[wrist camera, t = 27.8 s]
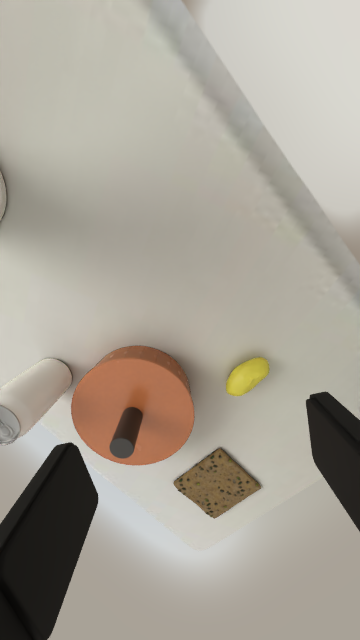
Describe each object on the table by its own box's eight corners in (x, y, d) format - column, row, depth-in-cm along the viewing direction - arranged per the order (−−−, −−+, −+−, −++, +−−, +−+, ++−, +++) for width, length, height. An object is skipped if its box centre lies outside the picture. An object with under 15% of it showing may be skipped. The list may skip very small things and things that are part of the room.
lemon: (270, 366, 36) (281, 378, 33) (231, 393, 38) (236, 407, 34) (256, 347, 36) (265, 357, 32) (216, 375, 37) (220, 388, 33)
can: (52, 398, 38) (-4, 457, 27) (26, 370, 37) (-45, 418, 26) (81, 379, 37) (35, 432, 26) (55, 350, 36) (-5, 390, 25)
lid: (56, 370, 32) (22, 399, 25) (178, 342, 31) (176, 365, 24) (97, 468, 36) (76, 516, 29) (205, 448, 35) (210, 493, 28)
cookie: (214, 517, 44) (214, 523, 43) (172, 482, 42) (172, 487, 41) (261, 485, 42) (263, 490, 41) (220, 446, 40) (220, 451, 39)
